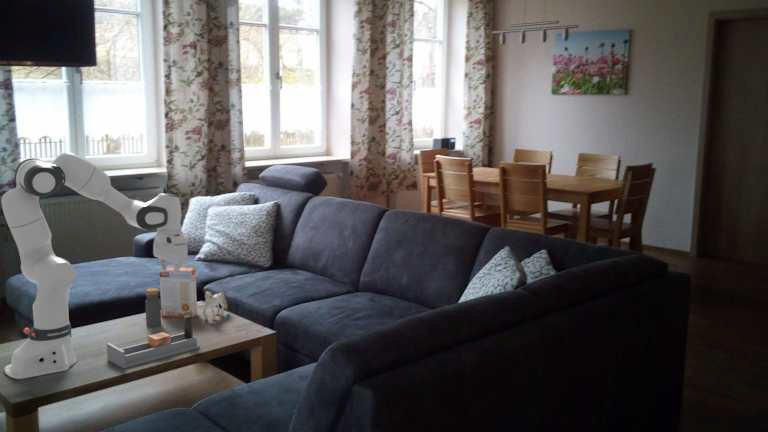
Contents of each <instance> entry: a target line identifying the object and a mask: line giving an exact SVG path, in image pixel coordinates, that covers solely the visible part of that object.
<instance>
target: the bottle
mask: <svg viewBox="0 0 768 432" xmlns="http://www.w3.org/2000/svg"><path fill="white" fill-rule="evenodd" d="M159 296H160V293H159V289H158V288H155V287H154V288H153V287H152V288H148V289H146V294H145V297H146V299H145V301H144V305H145V321H146V326H147V328H148V327H151V328H154V327H155V326H156V327H160V326H161V325H162V315H161V298H159ZM159 325H160V326H159Z"/></svg>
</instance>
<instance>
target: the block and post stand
mask: <svg viewBox="0 0 768 432" xmlns="http://www.w3.org/2000/svg"><path fill="white" fill-rule="evenodd" d="M183 324H184V325H183V329H184V330H183V333H184V334H185V338H182V339H178V340H174V341H171V336H172V335H170V334H168V333H166V332H164V331H163V332H159V333H154V334H151V335H150V334H149V335H147V342H148V349H151V348H155V347H159V346H163V345H166V344H170V343H174V342H178V341H182V340H186V339H190V338H193V337H194V335H193V318H192V316H191V315H187V316H184V317H183Z"/></svg>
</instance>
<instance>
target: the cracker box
mask: <svg viewBox="0 0 768 432" xmlns="http://www.w3.org/2000/svg"><path fill="white" fill-rule="evenodd" d="M174 267H175V266H174ZM174 267H172V266H171V267H170V266H169V267H168V266H167V270H161V269H159V290H160V293H159V296H160V306H161V318H163V317H164V318H165V317H166V318H184V316H187V315H191V316H192V319H193V318H194V317H195V316H196V315H197V314H198V302H197V300H198V299H197V276H196V275H197V274H196V267H180V269H179V274H177V275H175V274H173V270H174Z"/></svg>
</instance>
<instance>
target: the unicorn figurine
mask: <svg viewBox="0 0 768 432" xmlns="http://www.w3.org/2000/svg"><path fill="white" fill-rule="evenodd" d="M204 299H205V301H204V307H203V310H202V315H203V318H204V320H205V321H208V319H209V318H208V314H206V311H207V310H208V309H211V313H212V319H211V321H212V322H213V321H215V320H216V316H219V315H220V316H221V318H222V317H224V311H225V310H227V309H228V303H227V300H226V295H225V293H224V292H219V293H216V294H212V292H209V291H206V292H205V294H204ZM214 307H216V308H217V312H216V313H215V310H214V309H215V308H214ZM220 307H221V310H220ZM224 309H225V310H224Z"/></svg>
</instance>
